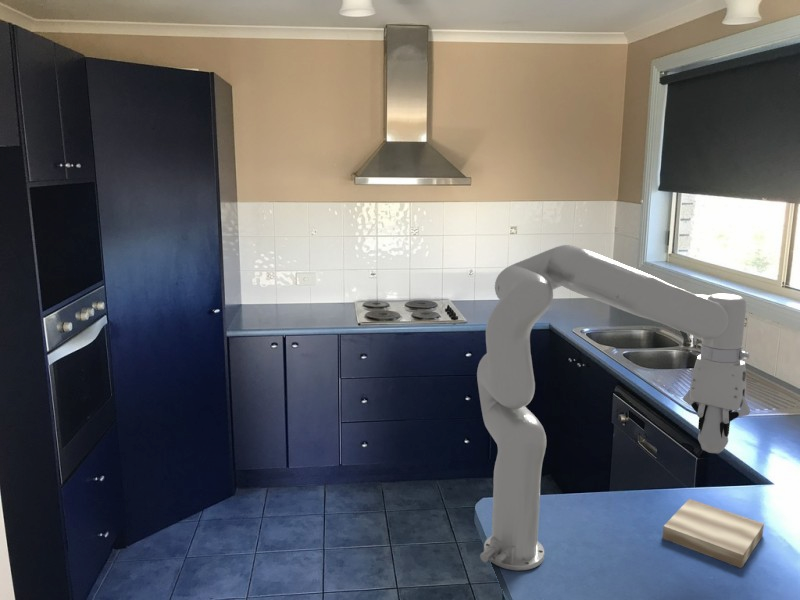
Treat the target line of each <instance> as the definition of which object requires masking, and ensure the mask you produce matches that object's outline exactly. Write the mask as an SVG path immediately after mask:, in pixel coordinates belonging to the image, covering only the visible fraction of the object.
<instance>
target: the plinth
mask: <svg viewBox="0 0 800 600" xmlns="http://www.w3.org/2000/svg"><path fill="white" fill-rule="evenodd" d="M764 528H765V523H763V522H760V521H758V520H754V519H751V518H748V517H746V516H742V515H739V514H737V513H736V514H735V513H734V512H730V511H728V510H723V509H721V508H718V507H716V506H715V507H714V506H712V505H709V504H706V503H704V502H703V503H702V502H699V501H698V500H694V499H692V498H689V499H687V501H686V502H685V503H684V504H683V505H681V507H680V508H679V509H678V510H677V511H676V512H675V513H674V514H673V515H672V516H671V518H670V519H669V520H667V522H666V523H664V525H663V527H662V539H663V540H665V541H668V542H670V543H671V542H672V543H674V544H677V545H678V546H679V545H680V546H682V547H684V548H687V549H689V550H692V551H695V552H698V553H699V554H702V555H706V556H708V557H711V558H713V559H716V560H719V561H721V562H722V563H723V562H724V563H726V564H728V565H731V566H735V567H737V568H739V569H742V568H743V567H744V565H745V563H746V562H747V560H748V559H749V558H750V556H751V555H752V553H753V551H754V550H755V549H756V547H757V545H758V544H759V542H760V540H761V539H762V537H763V536H764V535H763V534H764Z"/></svg>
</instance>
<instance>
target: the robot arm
mask: <svg viewBox="0 0 800 600" xmlns="http://www.w3.org/2000/svg"><path fill="white" fill-rule="evenodd" d="M560 287H563V288H566V289H568V290H569V291H572V292H575V293H577V294H579V295H581V296H585V297H587V298H589V299H592V300H595V301H598V302H600V303H603V304H606V305H609V306H611V307H613V308H616V309H619V310H620V311H623V312H626V313H629V314H631V315H634V316H636V317H641V318H643V319H647V320H650V321H653V322H657V323H660V324H662V325H665V326H667V327H670V328H673V329H675V330H678V331H679V332H680V331H681V332H682V333H685V334H688V335H691V336H693V337H696V338H698V339H701V347H700V354H699V355H698V356H696V357H697V358H696V360H695V363H694V367H693V371H692V375H691V380H690V387H689V390H688V391H687V392H686V394H685V395H684V396H683V398H682V400H683V401H684V402H685V403H686V404H688V406H691V407H692V409H693V411H694V412H695V413H696V415H697V417H698V427H697V430H698V431H700V433H701V431H702V427H703V424H704V420H705V418H704V417H705V412H706V409H707V405H709V406H713V407H718V408H722V411H723V422H721V423H720V433H721V438H722V433H723V429H724V435H725V436H726V437H727V436H728V437H729V434H730V425H731V422H732V421H734V420H736V419H737V418H739V417H745V416H748V415H750V413H751V409H750V407H749V404H748V402H747V400H746V397H747V370H746V369H747V368H746V362H745V361H743V360H744V359H745V360H748V359H749V357H750V352H746V351H745V350H744V347H743V339H744V331H745V320H746V312H747V311H746V310H747V302H746V300H745V298H744V297H742V296H741V295H738V294H732V293H712V294H709V295H707V294H697V293H696V294H695V293H693V292H691V291H687V290H686V289H683V288H680V287H678V286H675V285H673V284H670V283H668V282H666V281H664V280H662V279H660V278H658V277H655V276H653V275H651V274H650V273H649V274H648V273H646V272H644V271H642V270H639V269H636V268H635V267H632V266H629V265H626V264H624V263H621V262H619V261H618V260H617V261H616V260H614V259H611V258H609V257H606V256H604V255H602V254H599V253H596V252H594V251H591V250H589V249H585V248H581V247H577V246H574V245H572V244H571V245H570V244H563V245H558V246H556V247H553V248H551V249H550V248H549V249H548V250H544V251H543V252H540V253H537V254H535V255H533V256H530V257H528V258H525V259H523V260H520V261H518V262H515V263H513V264H511V265H509V266H507V267H506V268H504V269H502V270H501V271H500V272H499V274H498V275H497V277H496V279H495V282H494V291H495V295H496V297H497V298H498V300H499V302H498V303H497V305H496V306H495V307H494V309H493V310H492V311H491V313H490V315H489V317H488V320H487V323H486V328H485V344H486V345H485V346H486V347H485V348H486V353H485V354H484V355H482V357H481V359H480V360H479V363H478V367H477V370H476V371H477V372H476V377H477V378H476V379H477V387H478V394H479V401H480V408H481V413H482V419H483V423H484V426H485V428H486V429H487V431H488V433H489V435H490V436H491V437H492V439H493V440H494V442H495V443H496V445H497V454H496V460H495V462H494V469H493V483H492V484H493V491H492V492H493V493H492V520H491V522H492V523H491V535H490V536H489V537H487V538H486V539H485V541H484V544H483V552H481V553H480V555H479V557H480V560H481V561H482V562H483V563H488V561H490V562H491V563H492V564H494V565H495V566H497V567H499V568H503V569H506V570H510V571H529V570H532V569H534V568H536V567H538V566H540V565H541V564H542V563H543V562H544V560H545V553H546V552H545V548H544V547H543V545H542V544H541V542H539V541H538V539H539V538H538V537H539V522H540V521H539V520H540V519H539V517H540V504H541V503H540V502H541V501H540V498H541V479H542V478H541V477H542V469H543V462H544V457H545V454H546V448H547V435H546V432H545V429H544V426H543V425H542V423H541V422H540V421H539V419H538V417H536V416H535V414H534V413H533V412H531V410H529V409H528V407H527V406H528V405H529V404H530V403H531V401H532V400H533V398H534V395H535V390H536V381H535V375H534V368H533V360H532V354H531V332H532V329H533V327H534V326H535V324H536V323H537V322H538V320H539V319H540V318H541V317H542V316H544V314H545V313H546V312H547V311H548V309H550V307H551V305H552V302H553V298H554V290H556V289H558V288H560ZM700 428H701V429H700Z"/></svg>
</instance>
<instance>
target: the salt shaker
mask: <svg viewBox="0 0 800 600" xmlns="http://www.w3.org/2000/svg"><path fill="white" fill-rule="evenodd" d="M704 418H705V420H704V424H703V427H702V431H701V433H700V430H698V431H699V432H698V435H697V440H698V442H699V444H700V447H701V450H703V451H704V452H707V453H709V454H720V453H721V452H722V453H723V451H724V449H725V447H727V445H728V442H729V435H728V436H727V437H726V436H725V435H724V429H723V433H722V438H721V433H720V423H721V422H723V411H722V408H718V407H713V406H709V405H707V409H706V412H705V417H704ZM700 429H701V428H700Z"/></svg>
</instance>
